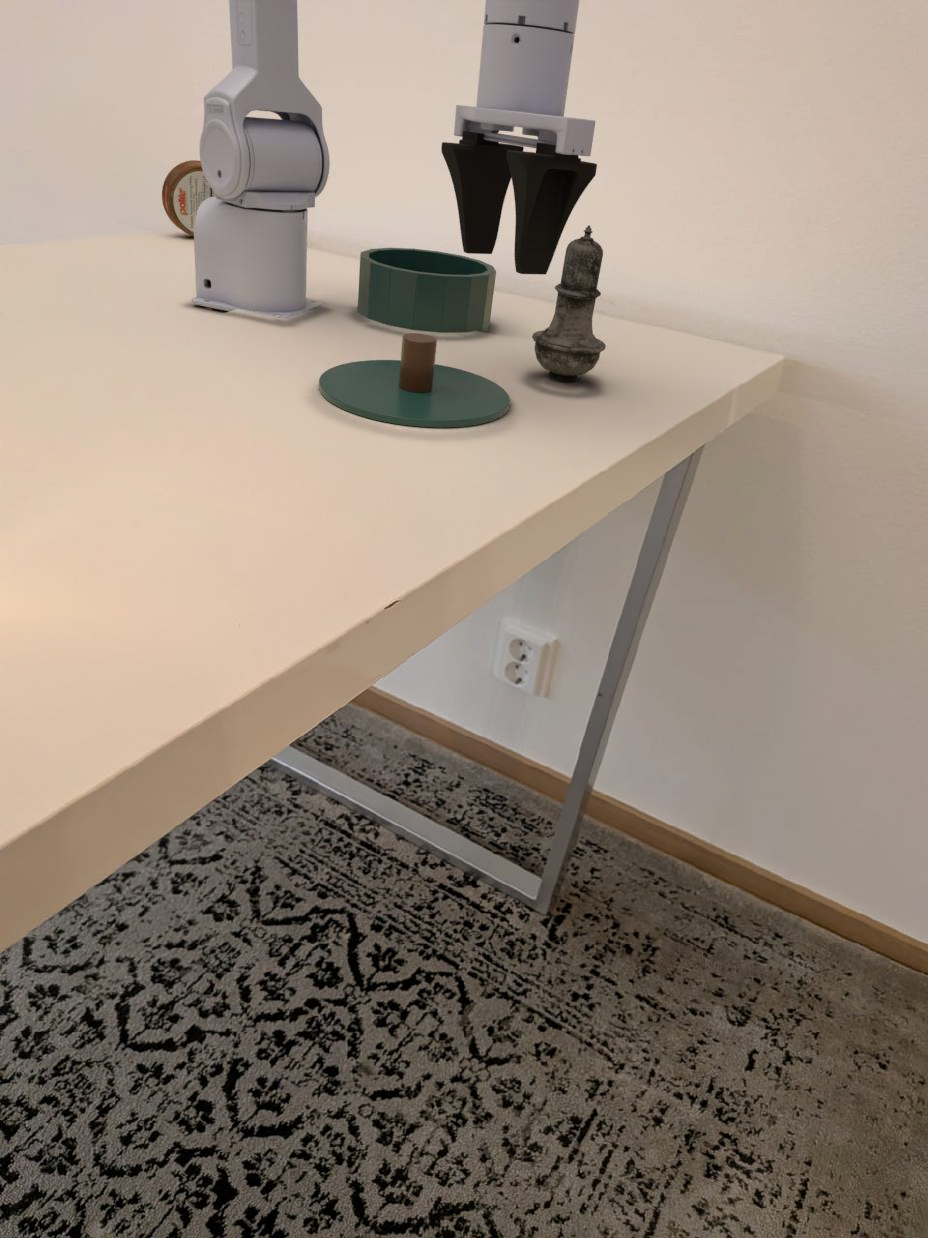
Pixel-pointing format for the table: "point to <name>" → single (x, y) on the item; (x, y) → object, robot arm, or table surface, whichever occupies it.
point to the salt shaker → (573, 315)
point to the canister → (425, 290)
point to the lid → (414, 389)
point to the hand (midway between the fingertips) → (503, 262)
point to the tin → (185, 194)
